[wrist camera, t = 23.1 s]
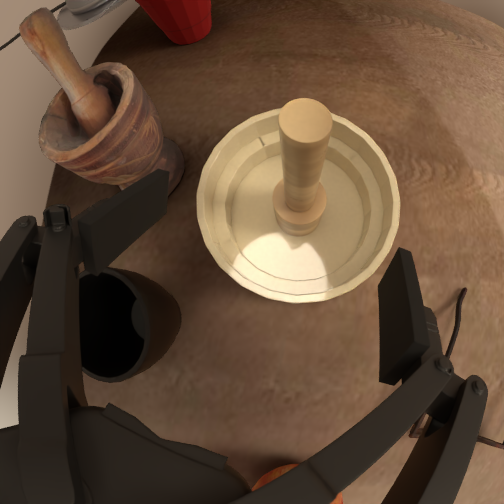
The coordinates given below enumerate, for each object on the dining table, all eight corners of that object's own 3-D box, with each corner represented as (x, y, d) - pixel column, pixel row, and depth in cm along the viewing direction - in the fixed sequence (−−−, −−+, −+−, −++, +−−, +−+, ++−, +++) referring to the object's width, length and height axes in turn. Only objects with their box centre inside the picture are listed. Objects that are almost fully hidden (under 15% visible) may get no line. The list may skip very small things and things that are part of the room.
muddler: (268, 225, 27) (238, 141, 12) (286, 186, 28) (279, 71, 12) (309, 244, 27) (334, 180, 11) (327, 204, 27) (366, 102, 11)
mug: (84, 319, 29) (21, 325, 20) (166, 257, 29) (113, 242, 19) (121, 386, 28) (65, 414, 18) (211, 332, 27) (173, 351, 18)
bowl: (187, 255, 29) (162, 246, 23) (258, 120, 29) (251, 85, 24) (338, 328, 26) (351, 337, 20) (399, 179, 27) (421, 155, 21)
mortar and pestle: (91, 164, 31) (-34, 80, 12) (141, 108, 31) (44, -7, 12) (149, 225, 29) (-13, 146, 10) (207, 160, 29) (108, 9, 10)
